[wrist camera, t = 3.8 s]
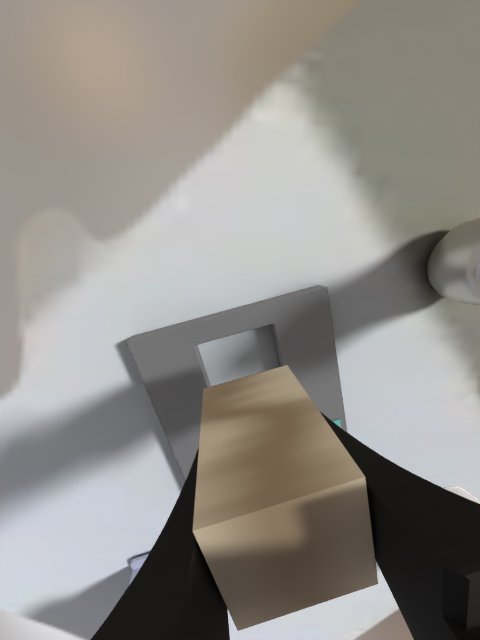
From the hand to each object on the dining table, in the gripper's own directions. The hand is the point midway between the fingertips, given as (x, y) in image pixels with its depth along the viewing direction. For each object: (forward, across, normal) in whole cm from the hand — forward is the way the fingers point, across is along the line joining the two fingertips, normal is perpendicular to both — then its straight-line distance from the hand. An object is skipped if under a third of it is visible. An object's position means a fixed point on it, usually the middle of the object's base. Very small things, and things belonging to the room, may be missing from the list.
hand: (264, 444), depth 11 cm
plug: (+2, 0, 0) cm, 2 cm away
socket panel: (+9, 0, +5) cm, 11 cm away
